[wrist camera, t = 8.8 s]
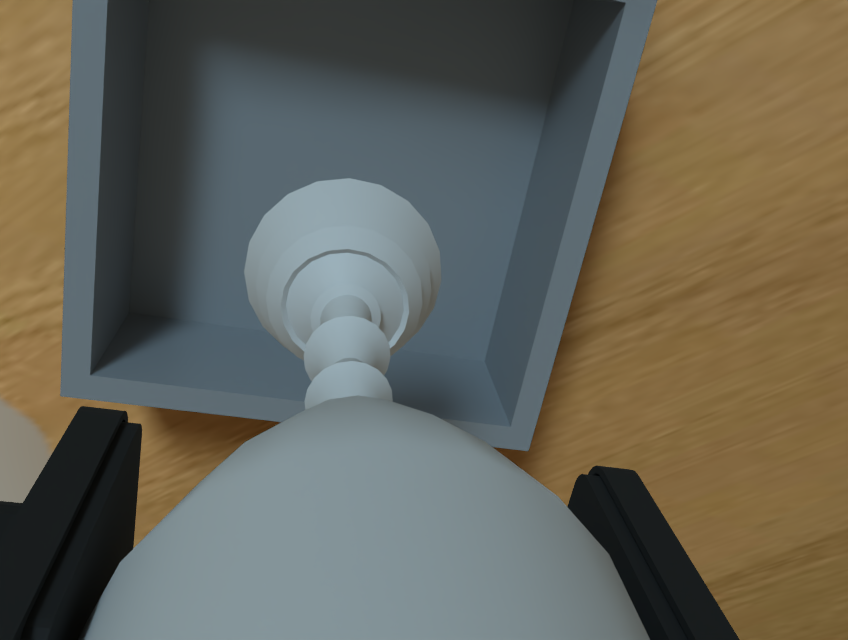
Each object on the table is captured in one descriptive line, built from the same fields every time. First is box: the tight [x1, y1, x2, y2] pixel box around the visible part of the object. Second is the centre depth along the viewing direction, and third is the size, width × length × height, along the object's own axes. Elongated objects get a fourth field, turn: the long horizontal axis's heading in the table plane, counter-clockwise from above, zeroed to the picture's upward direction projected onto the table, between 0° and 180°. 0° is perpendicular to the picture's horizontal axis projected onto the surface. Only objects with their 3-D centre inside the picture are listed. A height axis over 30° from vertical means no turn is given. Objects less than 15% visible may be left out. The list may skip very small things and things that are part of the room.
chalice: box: [78, 178, 650, 640], centre depth 12 cm, size 7×7×18 cm
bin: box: [60, 0, 657, 451], centre depth 31 cm, size 18×18×7 cm
